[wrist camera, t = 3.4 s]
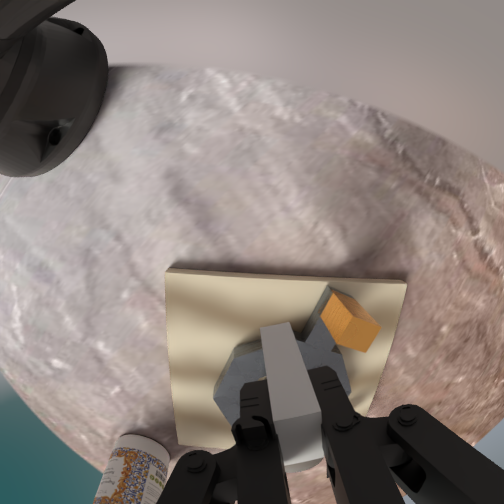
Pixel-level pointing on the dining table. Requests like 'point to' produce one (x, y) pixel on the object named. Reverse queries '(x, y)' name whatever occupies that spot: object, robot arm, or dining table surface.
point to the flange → (302, 348)
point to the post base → (258, 337)
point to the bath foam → (134, 472)
